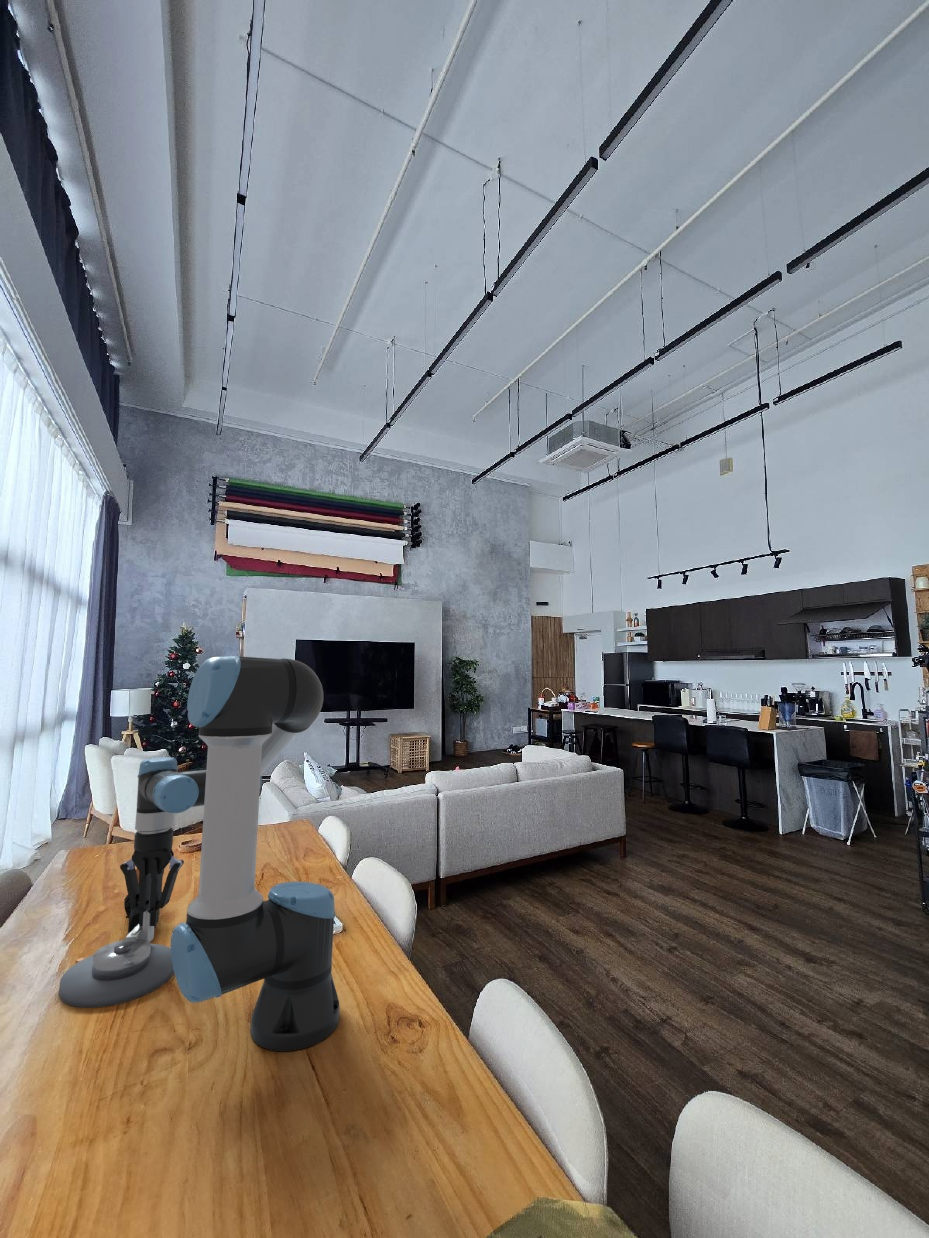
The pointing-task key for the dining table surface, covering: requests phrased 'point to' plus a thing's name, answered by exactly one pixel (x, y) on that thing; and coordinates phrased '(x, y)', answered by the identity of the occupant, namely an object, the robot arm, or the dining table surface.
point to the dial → (122, 957)
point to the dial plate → (114, 981)
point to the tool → (133, 910)
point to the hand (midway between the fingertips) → (147, 940)
